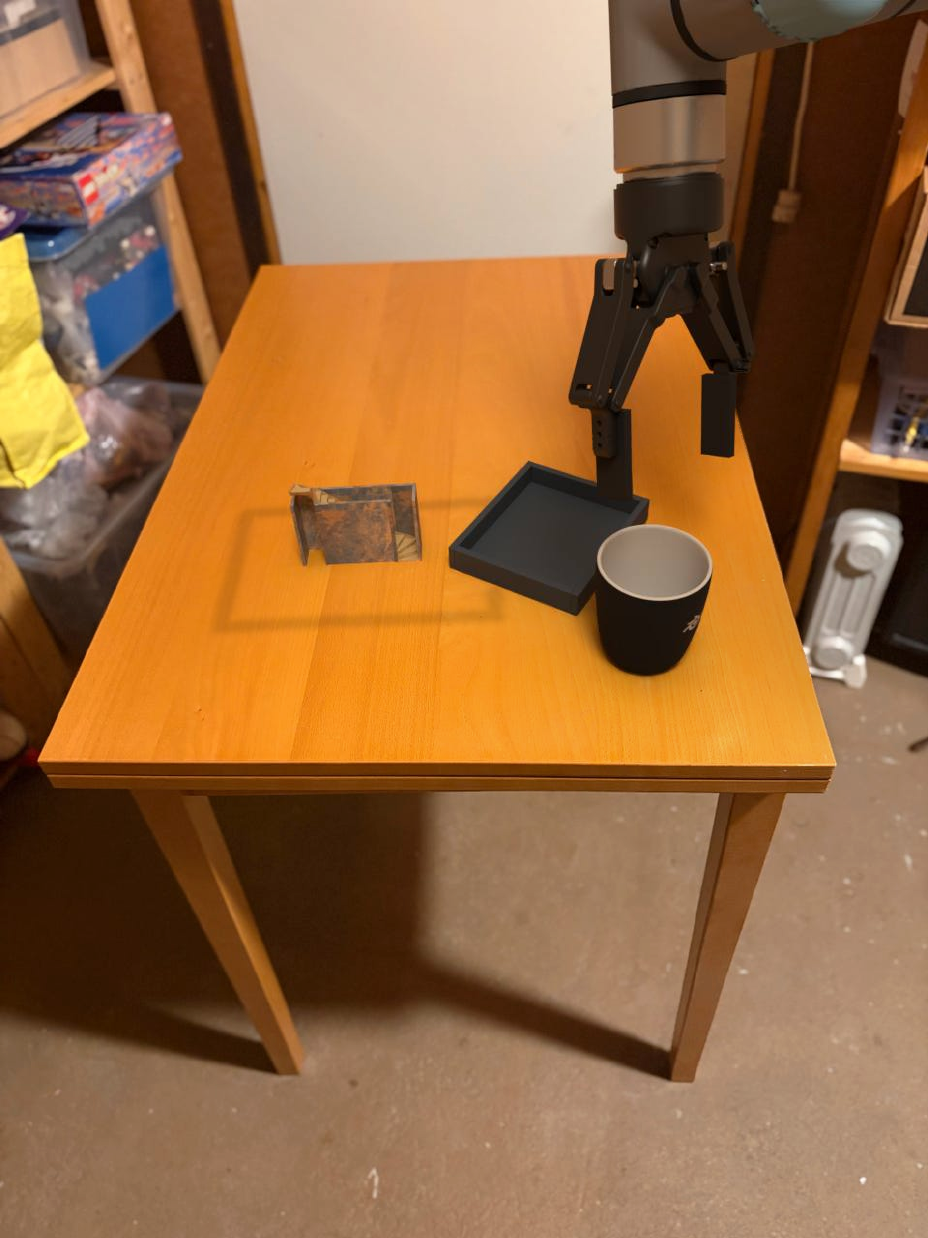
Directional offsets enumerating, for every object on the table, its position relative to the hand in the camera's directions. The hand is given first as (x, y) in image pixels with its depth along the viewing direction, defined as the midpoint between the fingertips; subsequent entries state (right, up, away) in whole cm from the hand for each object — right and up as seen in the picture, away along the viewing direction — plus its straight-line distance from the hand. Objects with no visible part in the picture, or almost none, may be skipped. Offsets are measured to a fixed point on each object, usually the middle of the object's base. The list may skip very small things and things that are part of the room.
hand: (668, 475), depth 72 cm
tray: (-8, -4, +17) cm, 19 cm away
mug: (0, -13, +8) cm, 15 cm away
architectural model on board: (-26, -5, +18) cm, 32 cm away
